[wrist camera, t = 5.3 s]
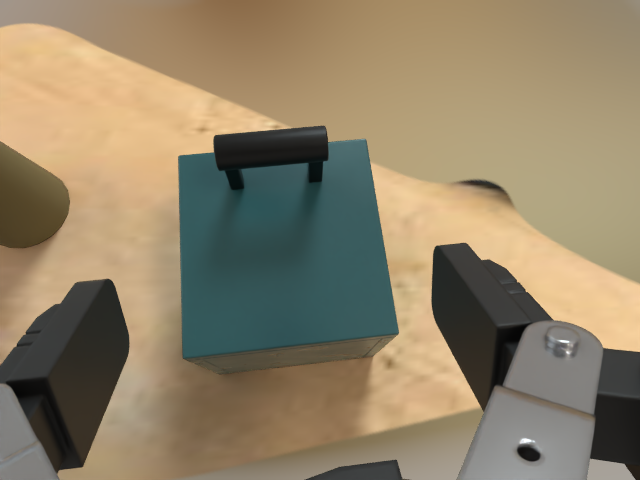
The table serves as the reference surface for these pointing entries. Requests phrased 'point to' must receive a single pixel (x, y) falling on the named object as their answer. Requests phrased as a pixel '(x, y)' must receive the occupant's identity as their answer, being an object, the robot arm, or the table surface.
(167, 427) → the table surface
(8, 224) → the olive pepper mill
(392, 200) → the table surface
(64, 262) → the table surface
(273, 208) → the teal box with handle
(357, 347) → the teal square box
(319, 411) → the table surface
